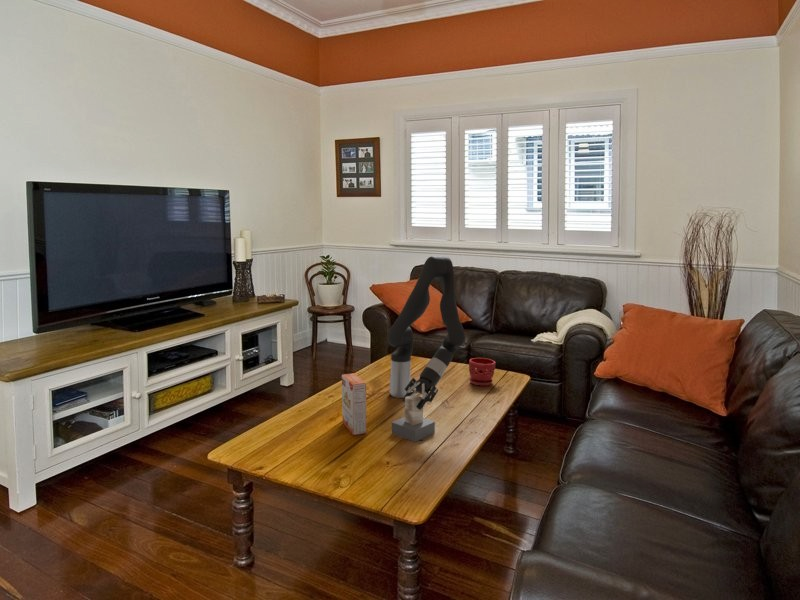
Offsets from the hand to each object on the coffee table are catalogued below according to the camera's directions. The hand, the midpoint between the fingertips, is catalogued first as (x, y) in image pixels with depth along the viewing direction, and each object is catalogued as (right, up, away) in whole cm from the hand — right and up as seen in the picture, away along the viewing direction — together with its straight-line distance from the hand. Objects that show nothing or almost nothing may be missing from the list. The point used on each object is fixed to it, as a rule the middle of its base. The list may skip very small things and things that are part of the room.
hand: (411, 405), depth 212 cm
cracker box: (-23, -11, +7) cm, 26 cm away
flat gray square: (+1, -12, +3) cm, 12 cm away
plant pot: (+37, -2, +66) cm, 75 cm away
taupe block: (+1, -7, +2) cm, 7 cm away
